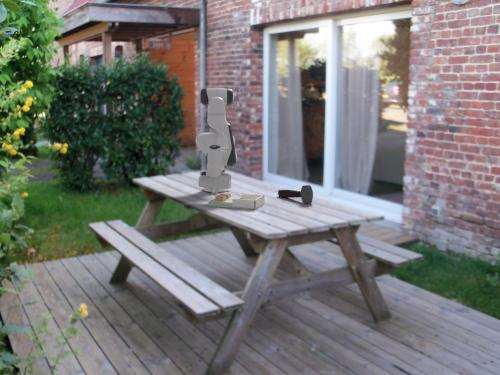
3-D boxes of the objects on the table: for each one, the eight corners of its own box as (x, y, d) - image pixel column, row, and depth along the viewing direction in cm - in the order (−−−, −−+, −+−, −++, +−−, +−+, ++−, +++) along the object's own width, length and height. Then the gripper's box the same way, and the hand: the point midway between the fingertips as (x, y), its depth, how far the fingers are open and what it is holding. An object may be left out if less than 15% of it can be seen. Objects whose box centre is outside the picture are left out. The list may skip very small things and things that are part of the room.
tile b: (218, 199, 348) (218, 195, 347) (226, 199, 346) (226, 195, 346) (215, 200, 343) (215, 196, 342) (223, 201, 341) (223, 197, 341)
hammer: (277, 202, 373) (307, 204, 348) (276, 185, 372) (306, 185, 348) (283, 201, 376) (313, 203, 351) (282, 184, 375) (312, 184, 350)
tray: (242, 202, 355) (242, 193, 354) (264, 203, 350) (264, 194, 350) (232, 207, 338) (232, 198, 337) (255, 209, 334) (255, 200, 333)
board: (220, 200, 359) (220, 195, 358) (242, 202, 355) (242, 197, 354) (209, 206, 342) (209, 201, 341) (232, 207, 338) (232, 202, 337)
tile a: (222, 196, 355) (222, 192, 355) (230, 197, 354) (230, 193, 353) (219, 198, 350) (219, 194, 350) (227, 198, 349) (227, 194, 348)
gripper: (232, 172, 351) (232, 195, 354) (201, 171, 357) (201, 193, 360) (229, 174, 345) (229, 197, 348) (197, 172, 351) (197, 195, 354)
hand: (214, 195), depth 354 cm, fingers closed
